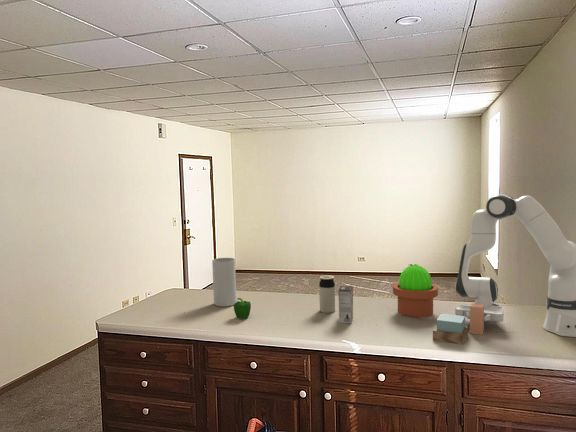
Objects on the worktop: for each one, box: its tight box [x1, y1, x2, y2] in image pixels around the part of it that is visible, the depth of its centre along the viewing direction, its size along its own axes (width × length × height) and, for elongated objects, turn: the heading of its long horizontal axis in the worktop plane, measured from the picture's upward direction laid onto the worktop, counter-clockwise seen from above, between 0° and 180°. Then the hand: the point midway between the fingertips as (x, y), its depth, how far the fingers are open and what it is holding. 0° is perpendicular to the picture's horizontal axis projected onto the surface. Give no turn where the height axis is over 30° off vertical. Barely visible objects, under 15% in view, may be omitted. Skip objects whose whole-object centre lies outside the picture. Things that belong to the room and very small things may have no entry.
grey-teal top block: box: [436, 313, 466, 334], centre depth 201 cm, size 10×10×4 cm
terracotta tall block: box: [469, 303, 485, 336], centre depth 207 cm, size 5×5×12 cm
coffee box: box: [338, 285, 354, 324], centre depth 228 cm, size 9×6×16 cm
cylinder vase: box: [211, 257, 237, 308], centre depth 262 cm, size 12×12×25 cm
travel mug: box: [318, 275, 336, 314], centre depth 244 cm, size 8×8×18 cm
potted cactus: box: [392, 263, 439, 318], centre depth 237 cm, size 22×22×25 cm
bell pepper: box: [233, 297, 252, 320], centre depth 237 cm, size 8×8×10 cm
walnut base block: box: [432, 325, 469, 345], centre depth 201 cm, size 12×12×4 cm
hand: (476, 318), depth 206 cm, fingers closed on terracotta tall block, 5 cm apart
